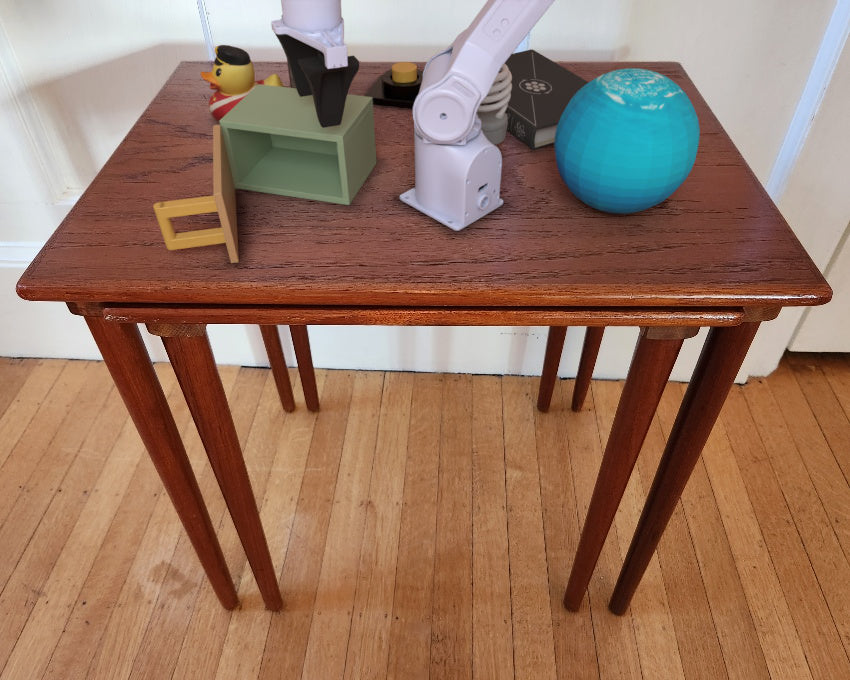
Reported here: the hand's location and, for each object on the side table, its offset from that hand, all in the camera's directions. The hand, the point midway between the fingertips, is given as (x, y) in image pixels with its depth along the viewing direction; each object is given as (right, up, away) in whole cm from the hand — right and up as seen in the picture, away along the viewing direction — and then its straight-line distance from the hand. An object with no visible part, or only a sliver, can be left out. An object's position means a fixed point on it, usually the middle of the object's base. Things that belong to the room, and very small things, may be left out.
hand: (319, 109), depth 73 cm
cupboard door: (-13, -12, +2) cm, 18 cm away
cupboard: (-3, -5, +10) cm, 12 cm away
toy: (-13, +6, +22) cm, 26 cm away
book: (+26, +8, +24) cm, 36 cm away
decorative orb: (+33, -9, +5) cm, 35 cm away
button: (+8, +13, +25) cm, 29 cm away
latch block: (+8, +11, +26) cm, 30 cm away
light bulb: (+19, -1, +14) cm, 23 cm away
